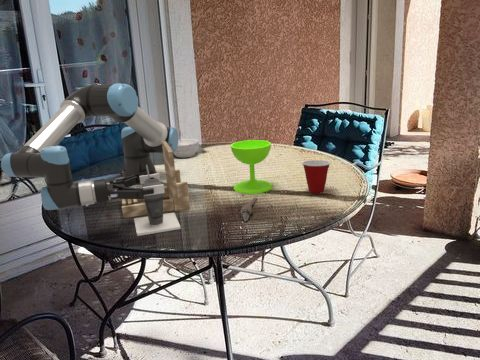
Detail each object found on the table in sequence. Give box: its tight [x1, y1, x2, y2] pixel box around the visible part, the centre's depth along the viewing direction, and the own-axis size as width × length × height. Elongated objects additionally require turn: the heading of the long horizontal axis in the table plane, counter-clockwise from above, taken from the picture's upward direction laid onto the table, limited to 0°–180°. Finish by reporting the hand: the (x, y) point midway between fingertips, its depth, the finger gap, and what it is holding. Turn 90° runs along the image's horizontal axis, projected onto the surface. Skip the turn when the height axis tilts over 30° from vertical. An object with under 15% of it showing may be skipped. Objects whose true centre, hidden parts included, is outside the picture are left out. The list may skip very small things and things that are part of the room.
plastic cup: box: [301, 159, 332, 195], centre depth 175 cm, size 11×11×12 cm
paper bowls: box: [173, 138, 200, 159], centre depth 246 cm, size 15×15×8 cm
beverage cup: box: [141, 165, 164, 225], centre depth 151 cm, size 7×7×20 cm
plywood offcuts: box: [121, 199, 139, 206], centre depth 170 cm, size 5×12×4 cm, turn 16°
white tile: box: [133, 212, 182, 237], centre depth 154 cm, size 14×14×1 cm
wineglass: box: [230, 139, 274, 195], centre depth 184 cm, size 16×16×18 cm
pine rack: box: [120, 141, 191, 219], centre depth 170 cm, size 24×20×22 cm
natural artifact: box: [240, 197, 258, 223], centre depth 161 cm, size 4×23×4 cm
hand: (161, 182), depth 151 cm, fingers open, 13 cm apart
